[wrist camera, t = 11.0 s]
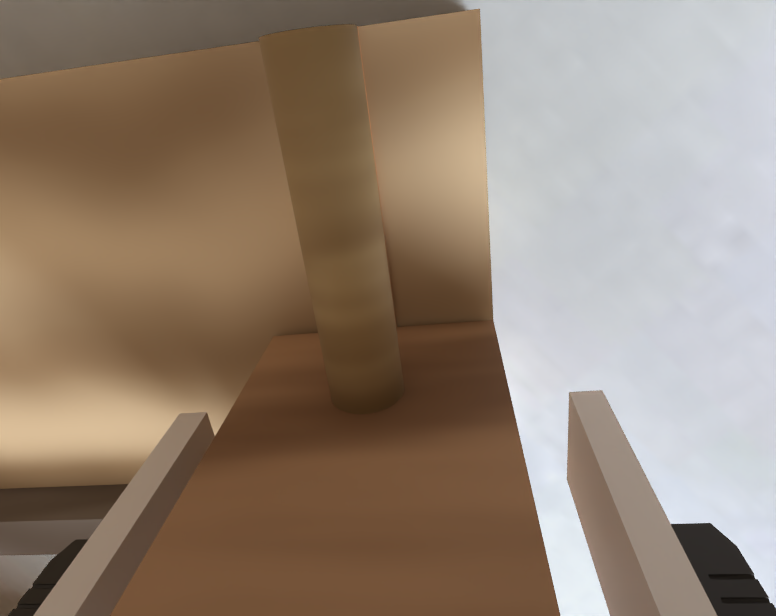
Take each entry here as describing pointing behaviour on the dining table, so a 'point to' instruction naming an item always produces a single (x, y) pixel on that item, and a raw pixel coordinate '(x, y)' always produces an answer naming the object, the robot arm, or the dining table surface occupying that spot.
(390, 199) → the board
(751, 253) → the dining table surface
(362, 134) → the wooden block with peg
